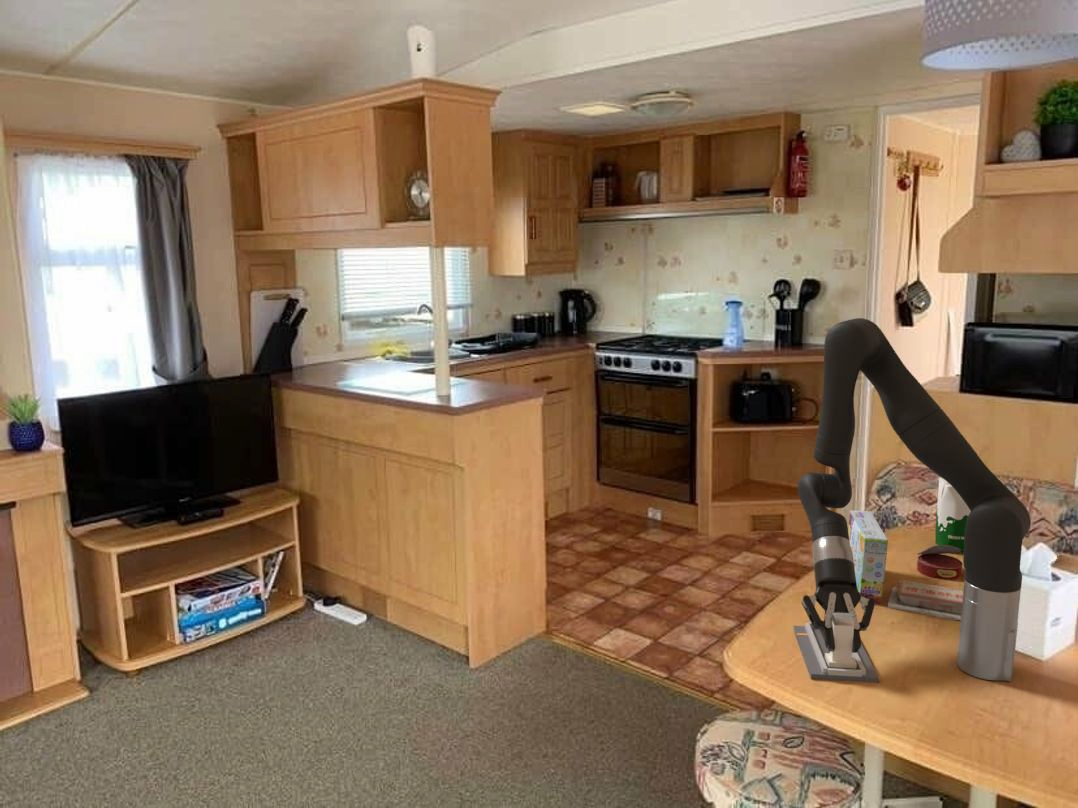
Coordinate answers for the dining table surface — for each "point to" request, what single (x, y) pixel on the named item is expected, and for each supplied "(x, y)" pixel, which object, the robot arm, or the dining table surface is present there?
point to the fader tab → (842, 642)
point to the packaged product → (927, 599)
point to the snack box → (868, 553)
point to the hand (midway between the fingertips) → (843, 650)
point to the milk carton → (950, 517)
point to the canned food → (940, 563)
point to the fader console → (816, 664)
